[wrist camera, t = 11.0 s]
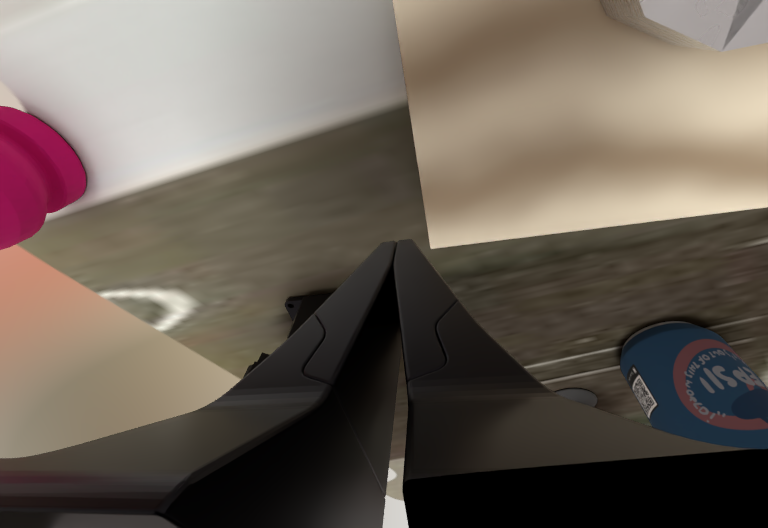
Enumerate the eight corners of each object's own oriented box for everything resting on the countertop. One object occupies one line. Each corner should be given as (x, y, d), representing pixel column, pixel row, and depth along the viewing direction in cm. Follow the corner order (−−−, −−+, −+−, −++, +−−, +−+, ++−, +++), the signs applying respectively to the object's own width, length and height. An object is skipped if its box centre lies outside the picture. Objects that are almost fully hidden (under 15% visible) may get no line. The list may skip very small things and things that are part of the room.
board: (763, 195, 19) (782, 205, 18) (430, 238, 23) (430, 248, 22) (1176, -624, 7) (1288, -718, 6) (353, -267, 11) (347, -293, 10)
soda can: (728, 311, 24) (927, 505, 15) (693, 369, 28) (832, 550, 19) (623, 317, 26) (745, 500, 16) (604, 372, 30) (692, 543, 20)
